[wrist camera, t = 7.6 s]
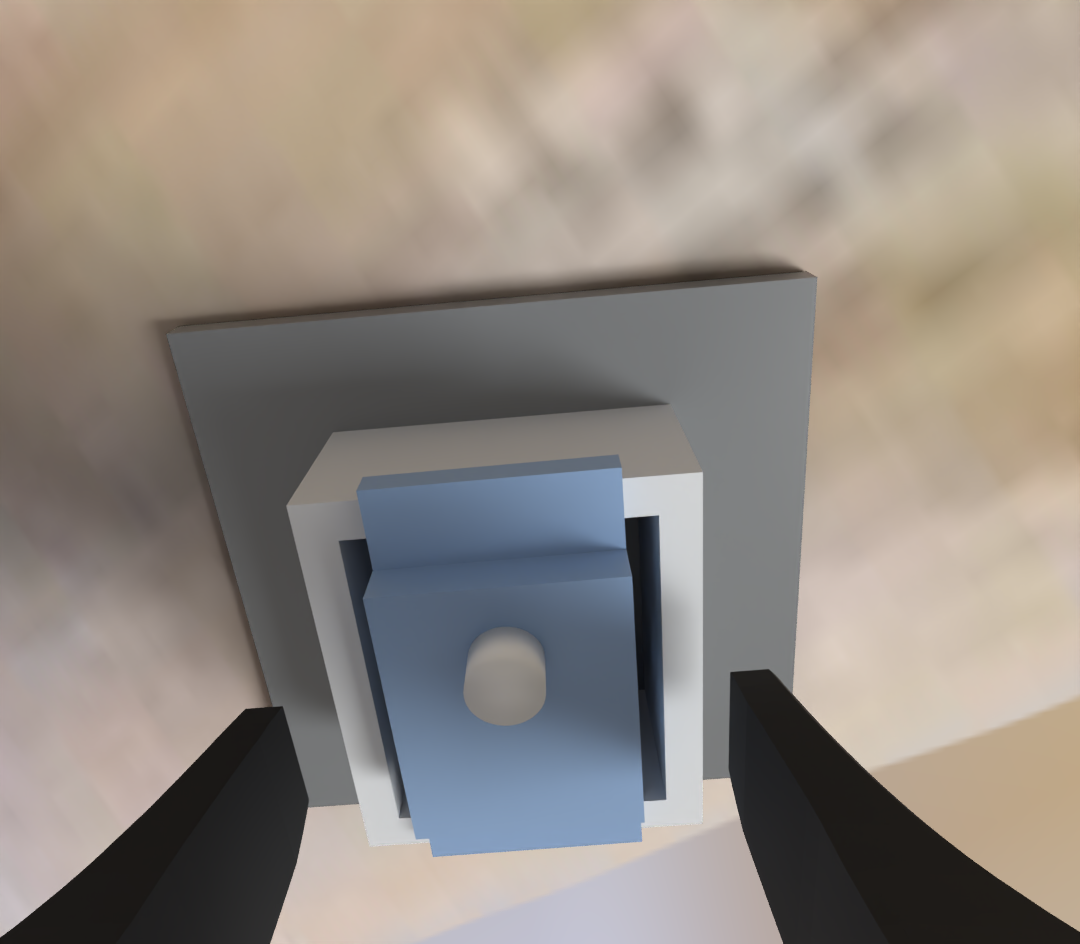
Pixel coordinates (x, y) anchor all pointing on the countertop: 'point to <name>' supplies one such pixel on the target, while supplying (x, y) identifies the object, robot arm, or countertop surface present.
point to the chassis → (508, 438)
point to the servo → (508, 652)
